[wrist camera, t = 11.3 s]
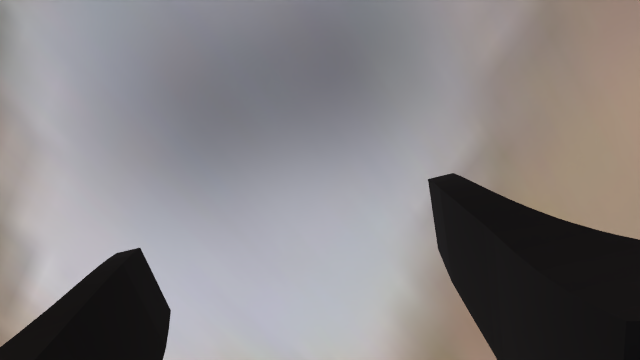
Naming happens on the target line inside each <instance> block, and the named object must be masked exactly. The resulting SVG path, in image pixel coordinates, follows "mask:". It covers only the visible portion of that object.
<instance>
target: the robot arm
mask: <svg viewBox="0 0 640 360" xmlns="http://www.w3.org/2000/svg"><path fill="white" fill-rule="evenodd" d="M428 182H429V189H430V196H431V203H432V210H433V217H434V223H435V230H436V237H437V244H438V250H439V252H440V254H441V257H442V259H443V262H444V264H445V267H446V269H447V271H448V274H449V276H450V278H451V281H452V283H453V285H454V286H455V288H456V290H457V292H458V293H459V295H460V297H461V298H462V300H463V302H464V304H465V305H466V307H467V309H468V310H469V312H470V314H471V316H472V317H473V319H474V321H475V322H476V324H477V326H478V327H479V329H480V331H481V333H482V334H483V336H484V338H485V339H486V341H487V343H488V344H489V346H490V348H491V349H492V351H493V353H494V355H495V356H496V358H497V360H640V240H638V239H633V238H629V237H624V236H619V235H615V234H611V233H607V232H603V231H599V230H595V229H592V228H588V227H585V226H581V225H578V224H574V223H571V222H568V221H565V220H562V219H559V218H556V217H553V216H550V215H547V214H545V213H542V212H539V211H537V210H534V209H532V208H529V207H526V206H524V205H522V204H519V203H517V202H515V201H512V200H510V199H508V198H505V197H503V196H501V195H499V194H497V193H495V192H492V191H490V190H488V189H486V188H484V187H482V186H480V185H478V184H476V183H474V182H472V181H470V180H468V179H465V178H463V177H461V176H459V175H457V174H454V173H452V174H448V175H444V176H439V177H435V178H431V179H428ZM170 312H171V310H170V308H169V306H168V304H167V302H166V300H165V298H164V296H163V294H162V292H161V290H160V288H159V286H158V284H157V281H156V279H155V277H154V275H153V273H152V271H151V269H150V267H149V265H148V263H147V261H146V259H145V257H144V255H143V253H142V251H141V249H140V248H137V249H133V250H128V251H124V252H120V253H116V254H115V255H113V256H112V257H110V258H109V259H107V260H106V261H105V262H103V263H102V264H101V265H100V266H98V267H97V268H96V269H95V270H93V271H92V272H91V273H90V274H89V275H87V276H86V277H85V278H84V279H83V280H82V281H80V282H79V283H78V284H77V285H76V286H75V287H73V288H72V289H71V290H70V291H69V292H68V293H66V294H65V295H64V296H63V297H62V298H61V299H59V300H58V301H57V302H56V303H55V304H54V305H52V306H51V307H50V308H49V309H48V310H46V311H45V312H44V313H43V314H41V315H40V316H39V317H38V318H36V319H35V320H34V321H33V322H32V323H30V324H29V325H28V326H27V327H25V328H24V329H23V330H22V331H20V332H19V333H18V334H17V335H15V336H14V337H13V338H12V339H10V340H9V341H8V342H6V343H5V344H4V345H3V346H1V347H0V360H163V356H164V353H165V349H166V343H167V337H168V330H169V321H170Z"/></svg>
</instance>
